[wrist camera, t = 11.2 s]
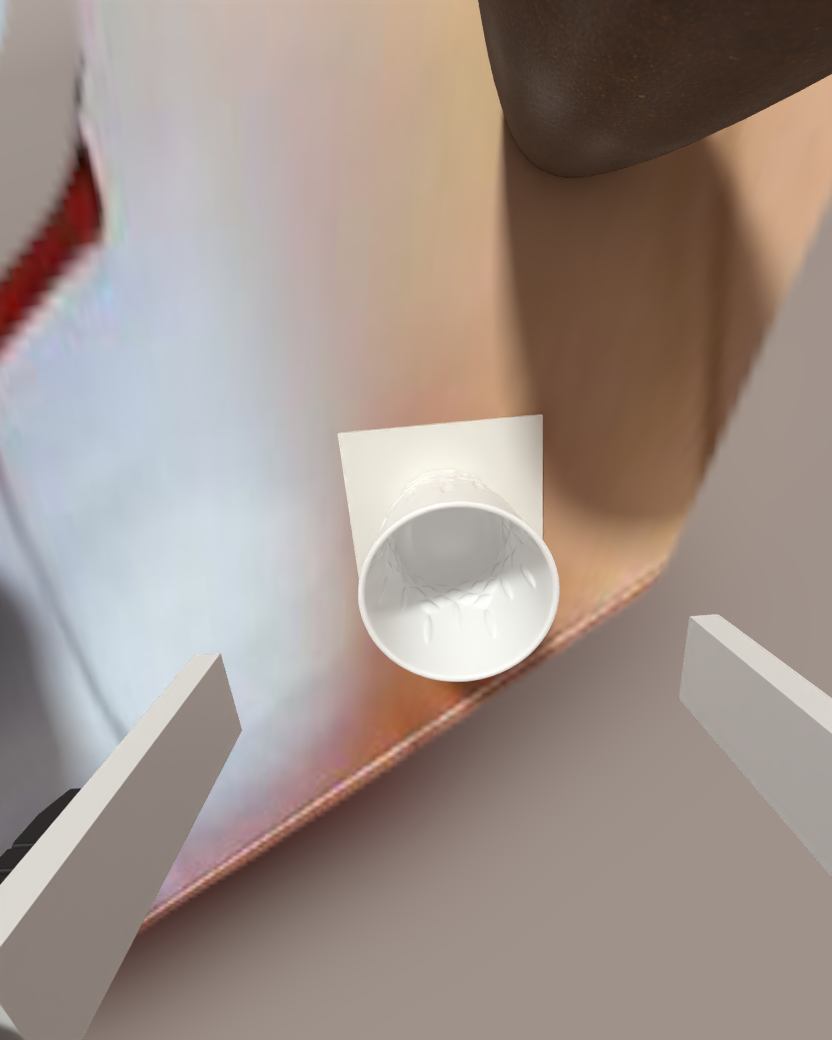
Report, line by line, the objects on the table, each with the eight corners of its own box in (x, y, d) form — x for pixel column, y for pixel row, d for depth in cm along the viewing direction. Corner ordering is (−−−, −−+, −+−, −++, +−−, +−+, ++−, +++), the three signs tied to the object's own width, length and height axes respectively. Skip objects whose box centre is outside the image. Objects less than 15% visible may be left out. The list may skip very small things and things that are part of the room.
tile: (365, 606, 28) (363, 612, 27) (340, 432, 25) (337, 433, 24) (539, 594, 28) (542, 600, 27) (539, 413, 24) (542, 414, 23)
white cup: (505, 451, 24) (558, 490, 14) (511, 572, 26) (561, 674, 17) (374, 466, 24) (342, 514, 15) (391, 583, 27) (373, 689, 17)
